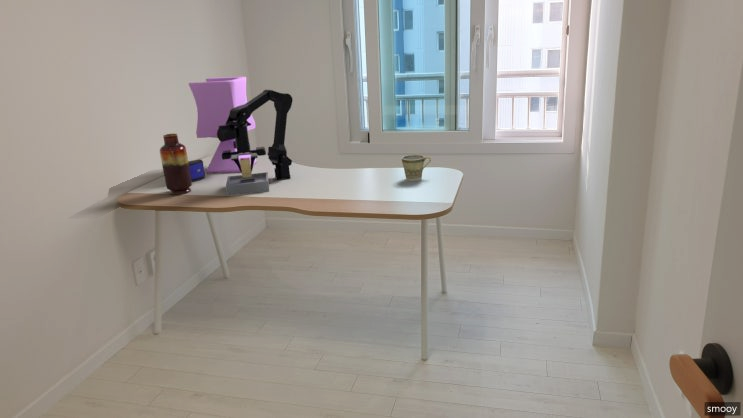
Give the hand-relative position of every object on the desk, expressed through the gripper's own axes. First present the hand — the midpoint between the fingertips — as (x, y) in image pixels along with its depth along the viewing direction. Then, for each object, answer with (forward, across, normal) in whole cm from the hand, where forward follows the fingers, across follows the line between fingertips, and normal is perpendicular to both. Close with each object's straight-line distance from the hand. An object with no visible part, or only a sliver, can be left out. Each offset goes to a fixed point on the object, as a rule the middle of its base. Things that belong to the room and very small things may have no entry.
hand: (246, 171), depth 243 cm
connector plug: (+2, 0, 0) cm, 2 cm away
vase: (+8, +30, -7) cm, 32 cm away
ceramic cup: (+8, -74, +15) cm, 76 cm away
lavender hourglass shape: (+8, +9, -43) cm, 45 cm away
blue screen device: (+8, +29, -26) cm, 40 cm away
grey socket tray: (+8, 0, 0) cm, 8 cm away
